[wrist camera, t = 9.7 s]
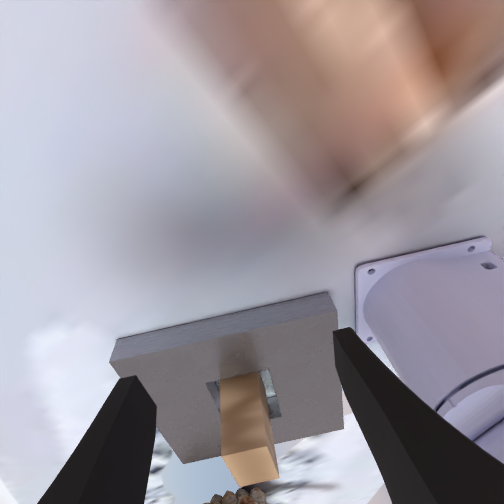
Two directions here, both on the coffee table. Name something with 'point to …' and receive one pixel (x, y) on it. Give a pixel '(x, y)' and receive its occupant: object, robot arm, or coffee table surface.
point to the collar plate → (239, 371)
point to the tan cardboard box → (247, 430)
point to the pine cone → (240, 497)
